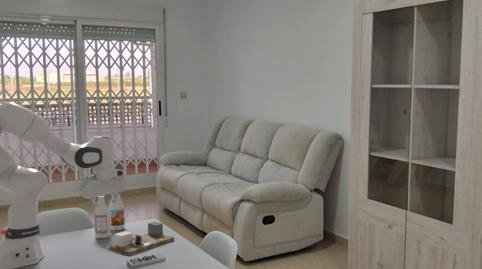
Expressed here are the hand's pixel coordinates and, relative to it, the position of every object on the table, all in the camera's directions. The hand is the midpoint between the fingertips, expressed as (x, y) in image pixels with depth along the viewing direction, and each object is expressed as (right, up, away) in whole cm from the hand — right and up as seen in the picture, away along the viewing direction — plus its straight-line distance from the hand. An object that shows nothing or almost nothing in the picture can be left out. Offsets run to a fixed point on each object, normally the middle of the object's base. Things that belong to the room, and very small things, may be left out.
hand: (105, 205), depth 199 cm
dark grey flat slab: (+13, -19, +8) cm, 24 cm away
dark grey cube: (+17, -18, +23) cm, 34 cm away
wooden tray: (+13, -20, +13) cm, 27 cm away
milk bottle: (-5, -18, +38) cm, 43 cm away
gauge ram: (+7, -19, +9) cm, 22 cm away
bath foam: (-9, -20, +26) cm, 33 cm away
